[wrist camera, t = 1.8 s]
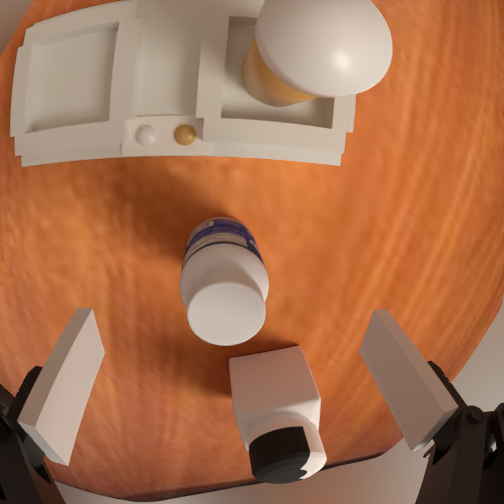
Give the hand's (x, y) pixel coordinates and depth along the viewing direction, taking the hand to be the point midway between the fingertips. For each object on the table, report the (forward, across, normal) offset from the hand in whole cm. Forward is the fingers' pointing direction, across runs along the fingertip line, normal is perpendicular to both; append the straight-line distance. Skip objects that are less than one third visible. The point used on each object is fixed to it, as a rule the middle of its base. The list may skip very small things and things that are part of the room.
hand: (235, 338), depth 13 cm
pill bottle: (+11, 0, 0) cm, 11 cm away
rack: (+11, -4, +13) cm, 17 cm away
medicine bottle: (+11, +4, -14) cm, 18 cm away
